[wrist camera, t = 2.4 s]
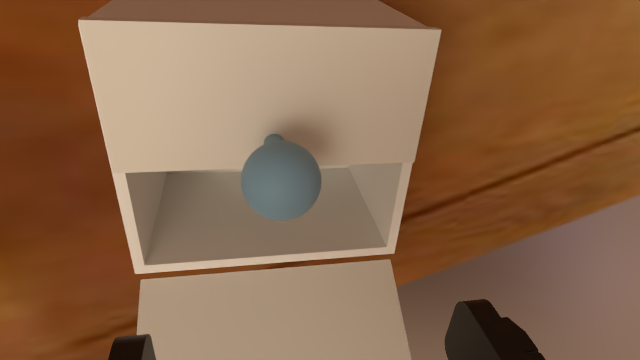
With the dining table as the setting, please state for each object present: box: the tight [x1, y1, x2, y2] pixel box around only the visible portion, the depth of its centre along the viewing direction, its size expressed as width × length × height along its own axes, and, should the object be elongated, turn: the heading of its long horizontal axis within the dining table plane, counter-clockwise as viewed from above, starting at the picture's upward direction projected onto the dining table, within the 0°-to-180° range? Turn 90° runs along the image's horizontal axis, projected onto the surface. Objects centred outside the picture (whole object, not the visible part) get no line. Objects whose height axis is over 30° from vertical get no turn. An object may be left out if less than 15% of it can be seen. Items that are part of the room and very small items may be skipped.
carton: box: [78, 0, 427, 274], centre depth 27 cm, size 16×14×11 cm
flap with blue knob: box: [78, 17, 441, 221], centre depth 18 cm, size 15×7×6 cm, turn 87°
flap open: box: [137, 259, 411, 360], centre depth 27 cm, size 15×7×6 cm
